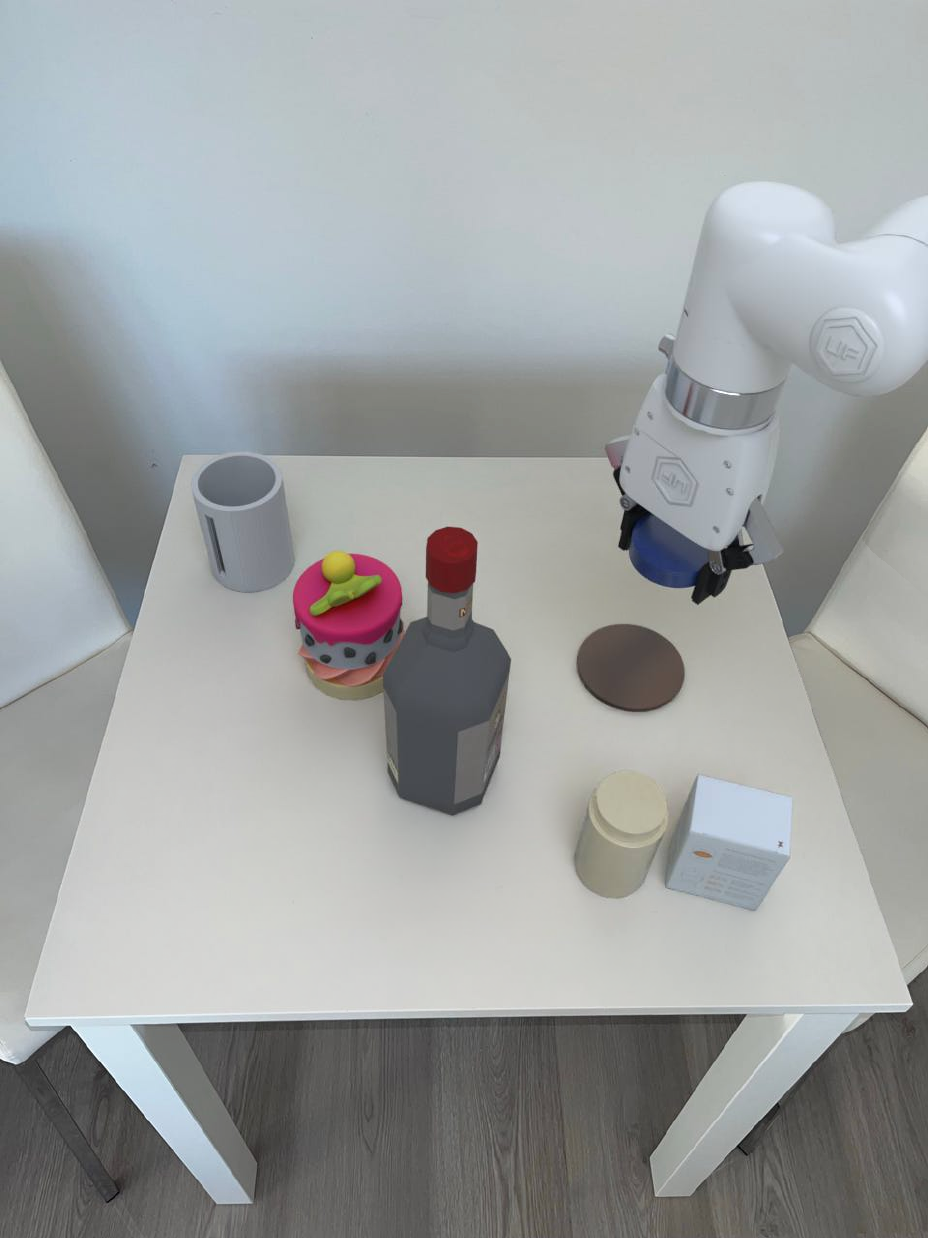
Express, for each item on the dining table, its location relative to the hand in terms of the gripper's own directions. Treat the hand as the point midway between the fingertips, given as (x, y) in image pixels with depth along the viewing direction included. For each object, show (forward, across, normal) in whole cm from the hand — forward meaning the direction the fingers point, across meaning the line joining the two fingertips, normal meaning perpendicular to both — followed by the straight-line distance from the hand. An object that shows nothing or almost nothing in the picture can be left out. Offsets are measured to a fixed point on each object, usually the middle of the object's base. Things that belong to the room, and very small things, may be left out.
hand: (668, 566), depth 75 cm
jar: (+22, +10, -12) cm, 27 cm away
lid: (-3, 0, 0) cm, 3 cm away
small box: (+22, +16, -6) cm, 28 cm away
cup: (+22, -41, -16) cm, 50 cm away
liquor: (+22, -7, -17) cm, 29 cm away
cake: (+22, -23, -16) cm, 36 cm away
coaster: (+22, -4, +5) cm, 23 cm away
